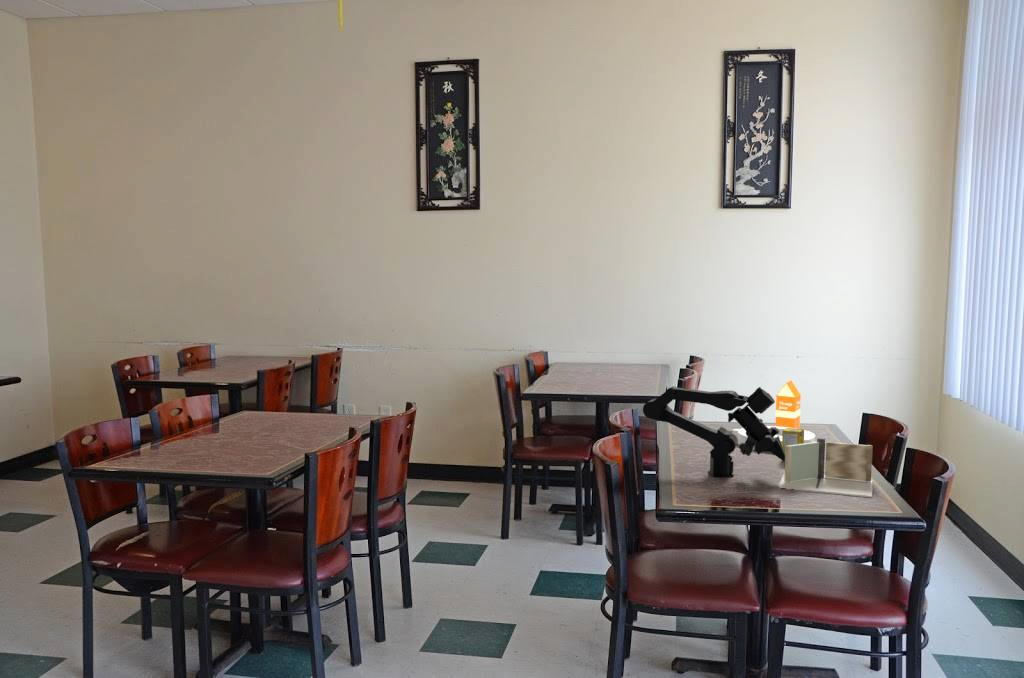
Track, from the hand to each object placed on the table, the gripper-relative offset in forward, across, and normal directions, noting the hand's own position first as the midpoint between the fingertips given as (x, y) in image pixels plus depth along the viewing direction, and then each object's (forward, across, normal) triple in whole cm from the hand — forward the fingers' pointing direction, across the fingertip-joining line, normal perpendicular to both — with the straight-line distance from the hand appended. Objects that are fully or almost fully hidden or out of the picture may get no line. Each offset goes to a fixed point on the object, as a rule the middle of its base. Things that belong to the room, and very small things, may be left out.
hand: (785, 460), depth 272 cm
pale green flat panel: (+7, -1, -1) cm, 7 cm away
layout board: (+13, -1, +4) cm, 14 cm away
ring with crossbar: (-1, -54, -11) cm, 55 cm away
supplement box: (+5, -30, -5) cm, 31 cm away
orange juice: (0, -84, -10) cm, 84 cm away
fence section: (+17, -7, +7) cm, 19 cm away
